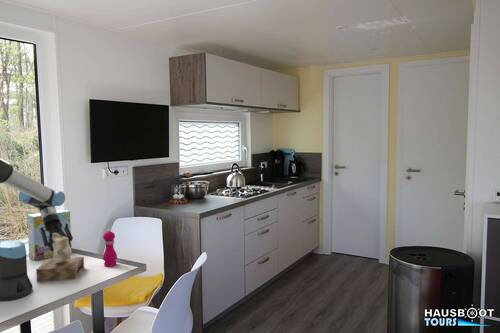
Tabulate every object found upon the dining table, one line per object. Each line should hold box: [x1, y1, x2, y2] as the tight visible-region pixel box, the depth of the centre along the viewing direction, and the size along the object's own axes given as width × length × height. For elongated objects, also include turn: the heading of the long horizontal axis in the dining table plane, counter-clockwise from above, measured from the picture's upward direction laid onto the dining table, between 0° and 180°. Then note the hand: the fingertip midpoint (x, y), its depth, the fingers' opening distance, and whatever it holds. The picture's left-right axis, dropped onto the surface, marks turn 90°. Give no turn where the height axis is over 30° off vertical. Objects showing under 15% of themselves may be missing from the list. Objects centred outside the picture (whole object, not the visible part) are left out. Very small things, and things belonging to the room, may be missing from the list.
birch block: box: [52, 236, 70, 262], centre depth 198 cm, size 6×6×11 cm
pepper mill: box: [102, 228, 118, 268], centre depth 212 cm, size 7×7×20 cm
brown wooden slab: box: [35, 256, 85, 283], centre depth 199 cm, size 18×16×6 cm
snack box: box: [27, 209, 72, 261], centre depth 230 cm, size 22×9×26 cm, turn 143°
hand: (63, 254), depth 196 cm, fingers closed on birch block, 6 cm apart
